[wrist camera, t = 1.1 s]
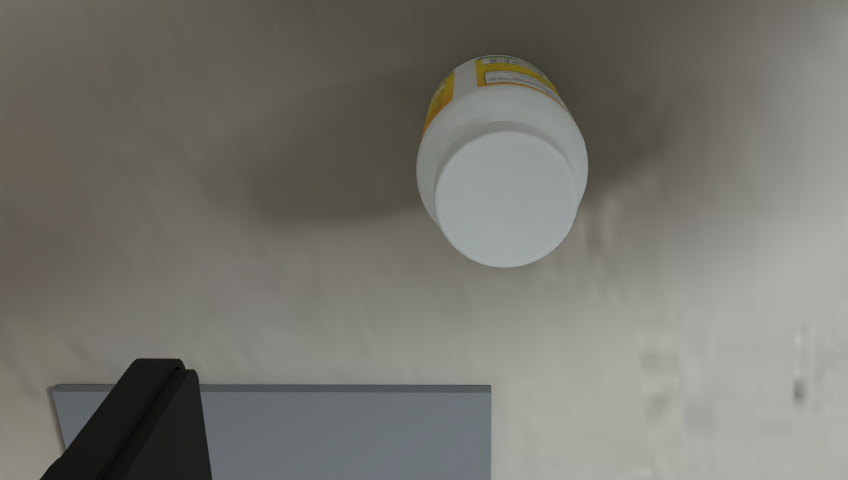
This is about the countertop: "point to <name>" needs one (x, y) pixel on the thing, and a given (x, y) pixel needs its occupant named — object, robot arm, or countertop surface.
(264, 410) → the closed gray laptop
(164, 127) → the countertop surface
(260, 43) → the countertop surface
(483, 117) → the supplement bottle
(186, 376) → the robot arm
